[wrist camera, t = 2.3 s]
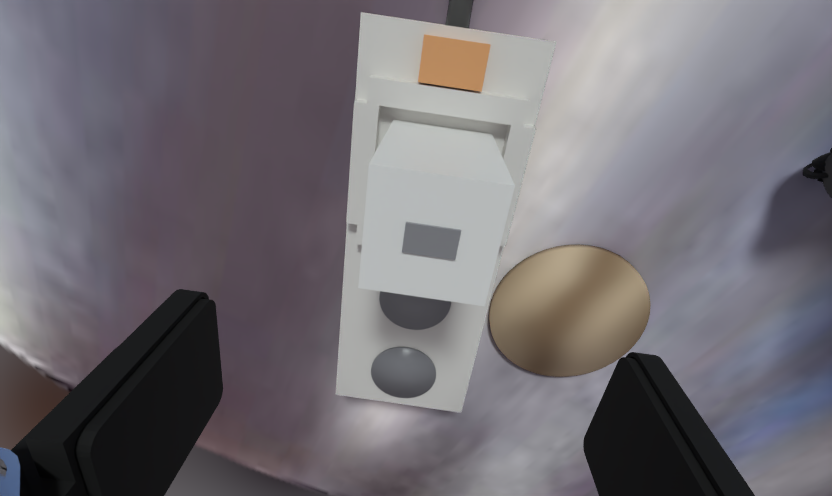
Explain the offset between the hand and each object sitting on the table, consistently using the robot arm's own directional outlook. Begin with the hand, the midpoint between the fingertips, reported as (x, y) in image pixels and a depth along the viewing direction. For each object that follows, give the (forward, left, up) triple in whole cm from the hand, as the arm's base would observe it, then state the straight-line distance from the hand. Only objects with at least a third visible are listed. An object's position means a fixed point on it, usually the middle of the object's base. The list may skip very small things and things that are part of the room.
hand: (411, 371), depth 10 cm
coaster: (-11, +10, -19) cm, 24 cm away
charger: (0, 0, -15) cm, 15 cm away
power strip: (0, 0, -18) cm, 19 cm away
